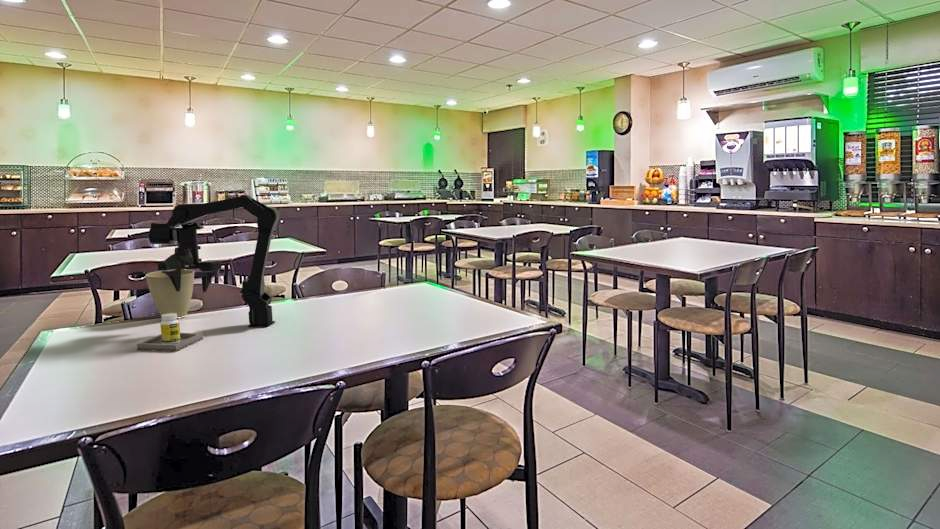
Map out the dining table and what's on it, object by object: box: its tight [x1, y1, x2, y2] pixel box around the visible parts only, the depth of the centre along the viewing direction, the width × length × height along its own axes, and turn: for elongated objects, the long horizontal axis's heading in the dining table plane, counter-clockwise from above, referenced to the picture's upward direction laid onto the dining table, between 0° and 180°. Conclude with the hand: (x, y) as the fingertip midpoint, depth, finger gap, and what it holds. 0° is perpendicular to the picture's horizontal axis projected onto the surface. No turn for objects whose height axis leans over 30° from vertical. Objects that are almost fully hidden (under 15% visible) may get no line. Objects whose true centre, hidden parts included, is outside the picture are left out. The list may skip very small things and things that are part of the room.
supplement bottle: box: [160, 313, 181, 344], centre depth 155 cm, size 5×5×8 cm
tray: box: [136, 332, 204, 352], centre depth 156 cm, size 12×12×2 cm
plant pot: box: [145, 269, 195, 317], centre depth 187 cm, size 15×15×16 cm
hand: (191, 291), depth 172 cm, fingers open, 9 cm apart
